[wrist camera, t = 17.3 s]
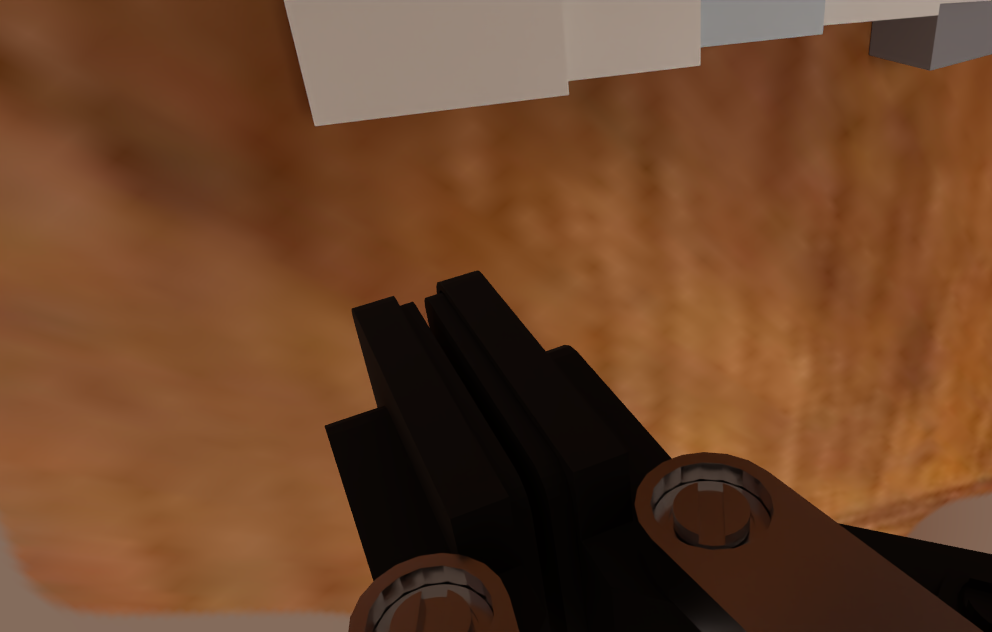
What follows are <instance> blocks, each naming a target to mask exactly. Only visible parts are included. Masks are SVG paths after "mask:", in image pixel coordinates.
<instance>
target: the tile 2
mask: <svg viewBox="0 0 992 632" xmlns="http://www.w3.org/2000/svg"><path fill="white" fill-rule="evenodd" d="M562 11H563V23H564V36H565V49H566V61H567V74H568V81H573V80H582V79H590V78H599V77H607V76H616V75H624V74H633V73H641V72H650V71H658V70H667V69H675V68H684V67H692V66H700V52H701V0H562Z"/></svg>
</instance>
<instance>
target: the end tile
mask: <svg viewBox="0 0 992 632" xmlns="http://www.w3.org/2000/svg"><path fill="white" fill-rule="evenodd" d="M284 4H285V8H286V12H287V16H288V20H289V24H290V28H291V32H292V36H293V40H294V44H295V48H296V52H297V56H298V60H299V64H300V68H301V72H302V76H303V80H304V84H305V88H306V92H307V96H308V100H309V105H310V109H311V113H312V117H313V121H314V125H315V126H321V125H329V124H337V123H345V122H354V121H362V120H370V119H378V118H386V117H394V116H402V115H410V114H418V113H427V112H435V111H443V110H451V109H459V108H467V107H475V106H483V105H491V104H500V103H508V102H516V101H524V100H532V99H540V98H548V97H556V96H564V95H569V86H568V74H567V61H566V49H565V36H564V23H563V11H562V0H284Z"/></svg>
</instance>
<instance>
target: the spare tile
mask: <svg viewBox="0 0 992 632" xmlns="http://www.w3.org/2000/svg"><path fill="white" fill-rule="evenodd" d="M824 12H825V0H701V47H709V46H718V45H727V44H736V43H745V42H755V41H764V40H773V39H782V38H791V37H800V36H809V35H819V34H823V24H824Z"/></svg>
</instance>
